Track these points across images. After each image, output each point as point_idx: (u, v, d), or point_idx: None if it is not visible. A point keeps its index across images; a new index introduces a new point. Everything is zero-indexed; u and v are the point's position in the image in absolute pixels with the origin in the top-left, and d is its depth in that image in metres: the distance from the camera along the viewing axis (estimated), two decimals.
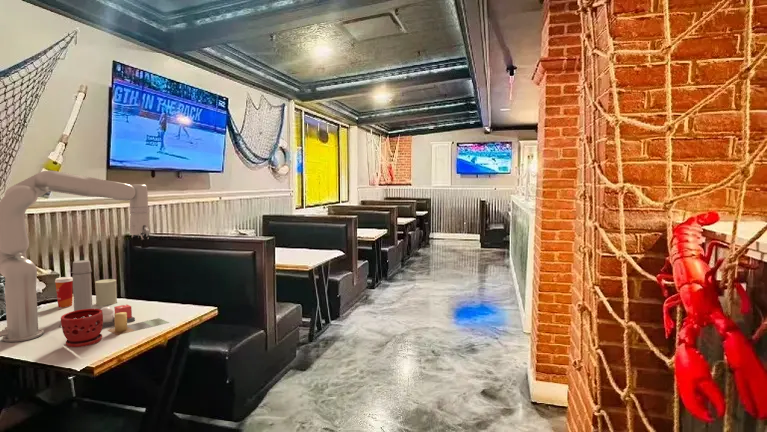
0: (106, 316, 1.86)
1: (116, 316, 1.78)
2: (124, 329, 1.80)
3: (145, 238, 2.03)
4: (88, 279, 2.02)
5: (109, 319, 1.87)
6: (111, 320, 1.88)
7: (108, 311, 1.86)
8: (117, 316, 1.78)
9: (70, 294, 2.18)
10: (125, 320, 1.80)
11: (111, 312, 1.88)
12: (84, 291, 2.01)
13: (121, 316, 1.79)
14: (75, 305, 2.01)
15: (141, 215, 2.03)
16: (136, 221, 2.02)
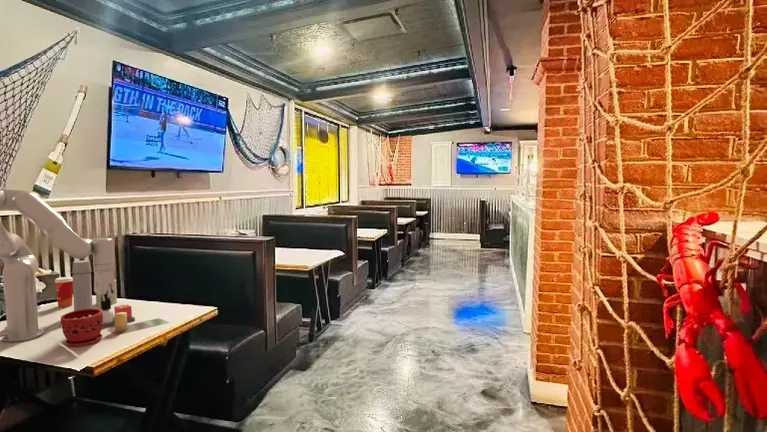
0: (106, 319, 1.86)
1: (116, 316, 1.78)
2: (124, 329, 1.80)
3: (106, 299, 1.86)
4: (88, 279, 2.02)
5: (109, 322, 1.87)
6: None
7: (108, 314, 1.87)
8: (117, 316, 1.78)
9: (70, 294, 2.18)
10: (125, 320, 1.80)
11: (111, 315, 1.88)
12: (84, 291, 2.01)
13: (121, 316, 1.79)
14: (75, 305, 2.01)
15: (106, 273, 1.83)
16: (100, 280, 1.83)
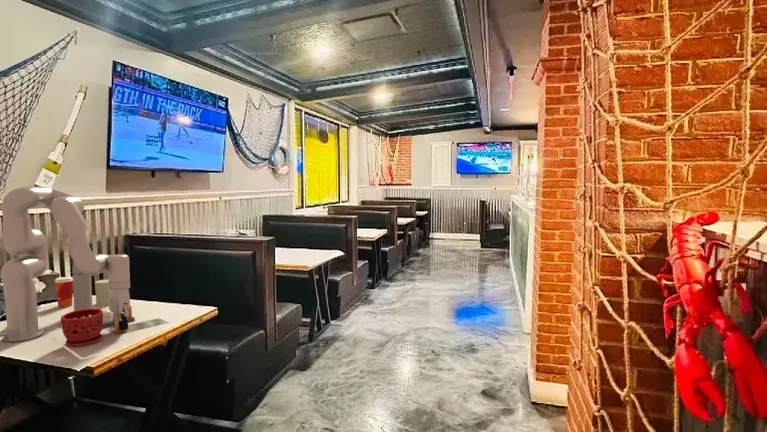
0: (106, 319, 1.86)
1: (116, 316, 1.78)
2: None
3: (124, 319, 1.78)
4: (88, 279, 2.02)
5: (109, 322, 1.87)
6: None
7: (108, 314, 1.87)
8: (117, 316, 1.78)
9: (70, 294, 2.18)
10: None
11: (111, 315, 1.88)
12: (84, 290, 2.01)
13: None
14: (75, 305, 2.01)
15: (121, 291, 1.76)
16: (115, 298, 1.76)
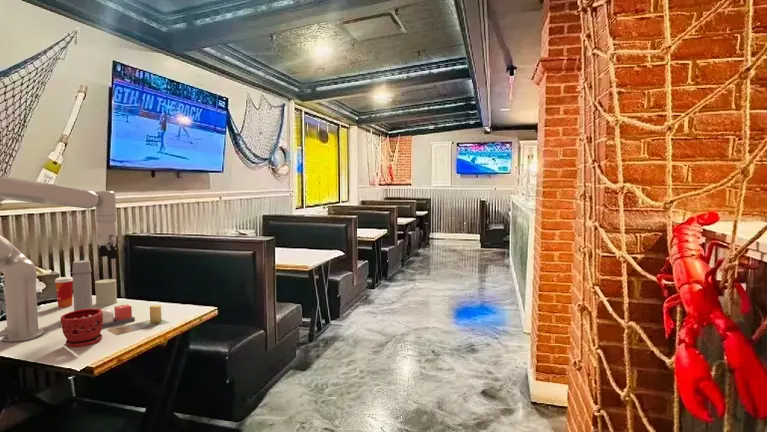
0: (106, 319, 1.86)
1: (152, 308, 1.89)
2: (159, 321, 1.91)
3: (112, 248, 1.89)
4: (88, 279, 2.02)
5: (109, 322, 1.87)
6: None
7: (108, 314, 1.87)
8: (152, 308, 1.89)
9: (70, 294, 2.18)
10: (160, 312, 1.91)
11: (111, 315, 1.88)
12: (84, 291, 2.01)
13: (156, 309, 1.90)
14: (75, 305, 2.01)
15: (108, 224, 1.89)
16: (102, 230, 1.89)
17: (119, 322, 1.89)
